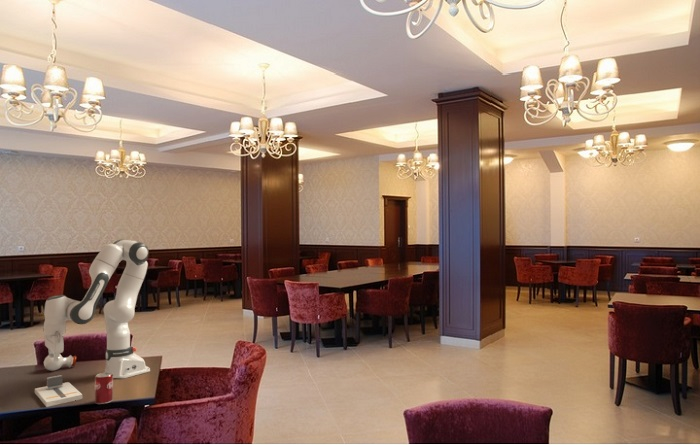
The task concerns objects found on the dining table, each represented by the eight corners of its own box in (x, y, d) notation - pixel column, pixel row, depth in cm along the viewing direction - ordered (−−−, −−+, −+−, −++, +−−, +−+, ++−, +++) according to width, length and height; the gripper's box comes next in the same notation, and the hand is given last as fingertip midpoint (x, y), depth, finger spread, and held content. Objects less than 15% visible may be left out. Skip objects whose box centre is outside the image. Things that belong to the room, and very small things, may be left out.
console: (68, 386, 233) (68, 381, 233) (82, 398, 214) (82, 394, 215) (34, 392, 223) (34, 388, 223) (46, 407, 205) (46, 402, 205)
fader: (60, 384, 227) (60, 374, 227) (62, 386, 224) (62, 376, 225) (46, 387, 223) (46, 377, 223) (48, 389, 220) (48, 379, 220)
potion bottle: (41, 374, 257) (72, 372, 266) (44, 366, 251) (76, 365, 261) (42, 358, 262) (72, 356, 271) (45, 350, 256) (76, 349, 266)
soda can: (93, 405, 206) (94, 378, 206) (95, 400, 213) (95, 373, 213) (112, 403, 209) (112, 375, 209) (113, 397, 216) (113, 371, 216)
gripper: (67, 332, 219) (66, 362, 218) (57, 326, 234) (56, 354, 233) (52, 334, 215) (51, 364, 214) (42, 327, 229) (41, 356, 229)
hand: (53, 359), depth 224 cm, fingers open, 8 cm apart
